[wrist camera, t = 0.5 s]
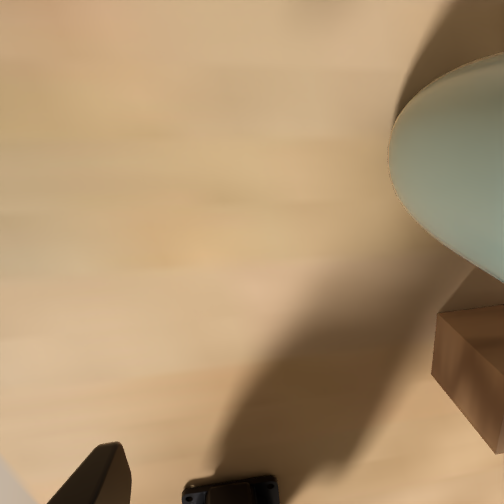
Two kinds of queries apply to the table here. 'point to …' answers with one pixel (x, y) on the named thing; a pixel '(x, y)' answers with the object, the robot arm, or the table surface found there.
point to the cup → (456, 161)
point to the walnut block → (473, 367)
